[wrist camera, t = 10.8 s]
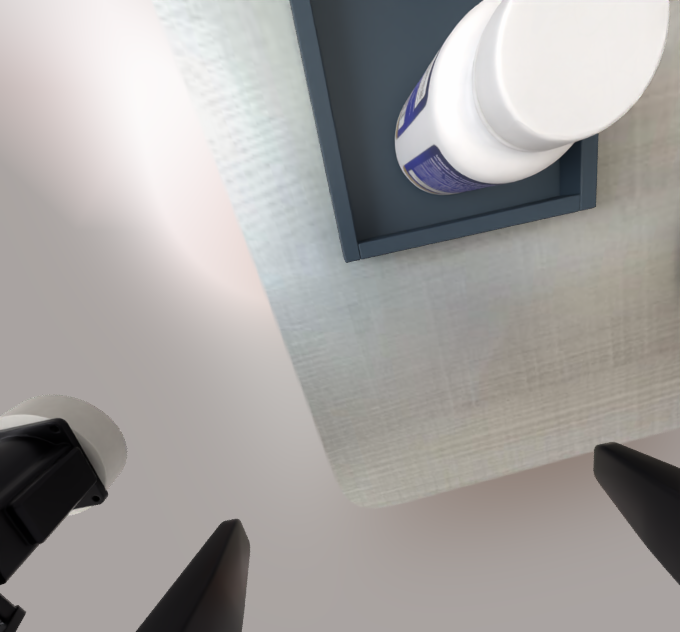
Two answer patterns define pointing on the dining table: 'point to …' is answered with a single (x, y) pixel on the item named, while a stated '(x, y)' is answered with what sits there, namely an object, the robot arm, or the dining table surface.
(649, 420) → the dining table surface
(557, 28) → the pill bottle
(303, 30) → the tray
